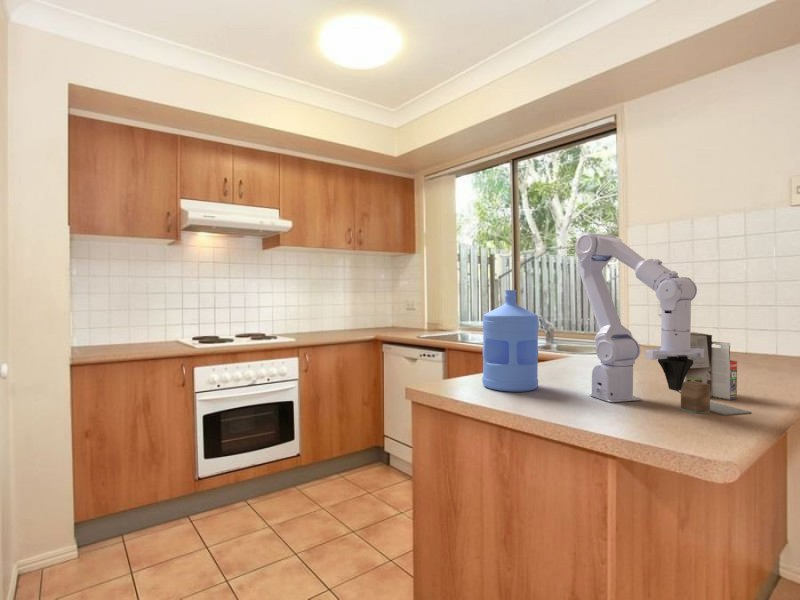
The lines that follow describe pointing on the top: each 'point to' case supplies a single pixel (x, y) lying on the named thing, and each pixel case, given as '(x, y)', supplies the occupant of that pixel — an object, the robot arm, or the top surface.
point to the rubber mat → (726, 409)
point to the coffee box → (700, 359)
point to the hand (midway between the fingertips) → (674, 389)
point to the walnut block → (695, 397)
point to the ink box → (723, 372)
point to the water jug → (510, 347)
